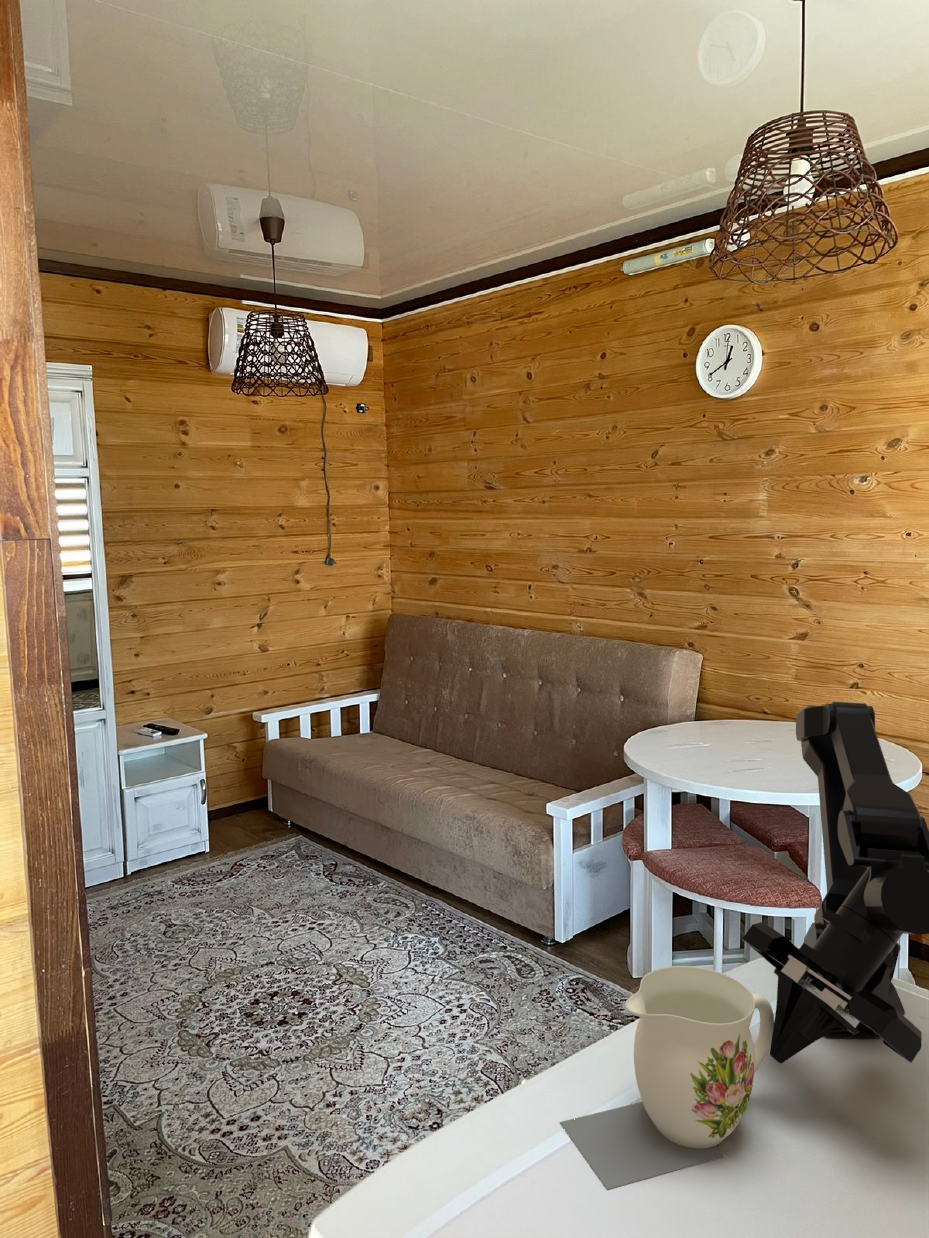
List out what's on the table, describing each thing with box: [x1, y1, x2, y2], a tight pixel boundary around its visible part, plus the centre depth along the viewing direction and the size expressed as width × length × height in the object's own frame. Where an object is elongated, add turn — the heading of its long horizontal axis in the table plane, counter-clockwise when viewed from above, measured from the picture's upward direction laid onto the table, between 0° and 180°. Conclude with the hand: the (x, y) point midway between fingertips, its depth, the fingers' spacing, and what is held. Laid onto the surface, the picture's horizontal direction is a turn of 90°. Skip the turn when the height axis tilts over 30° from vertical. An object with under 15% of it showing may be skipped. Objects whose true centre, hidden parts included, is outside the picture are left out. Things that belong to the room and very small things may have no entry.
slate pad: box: [559, 1101, 725, 1191], centre depth 85 cm, size 12×9×1 cm
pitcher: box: [624, 965, 775, 1148], centre depth 86 cm, size 11×18×14 cm, turn 118°
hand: (775, 1059), depth 87 cm, fingers closed
